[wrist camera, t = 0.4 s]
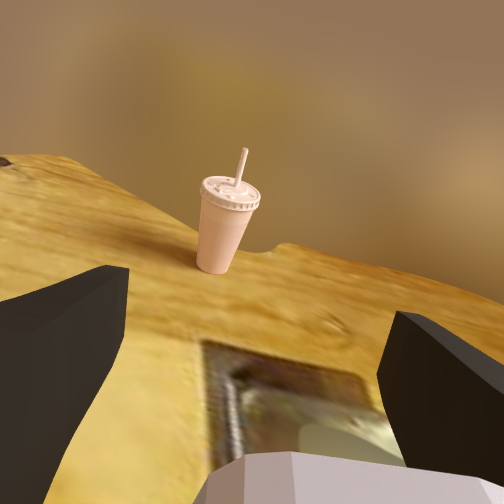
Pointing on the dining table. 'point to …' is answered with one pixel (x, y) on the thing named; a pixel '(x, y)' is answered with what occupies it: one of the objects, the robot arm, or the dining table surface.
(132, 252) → the dining table surface
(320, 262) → the dining table surface
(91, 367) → the robot arm
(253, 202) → the smoothie
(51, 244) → the dining table surface
